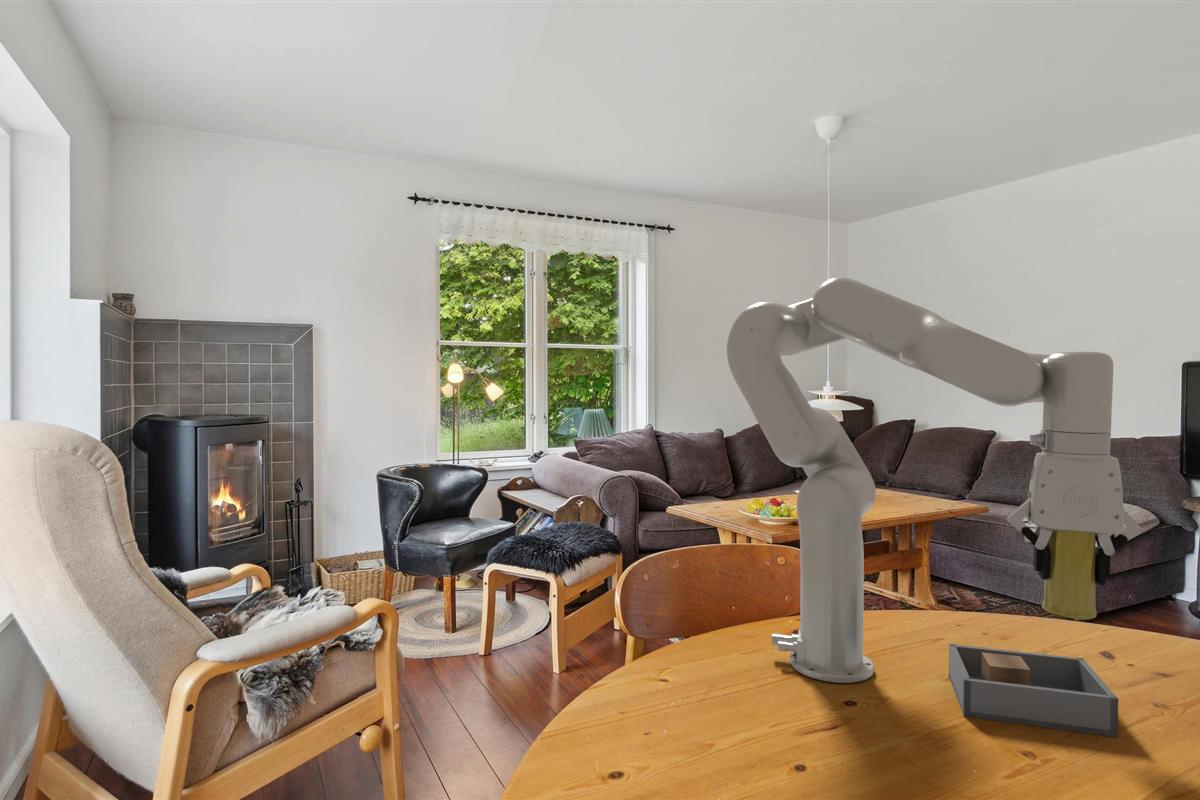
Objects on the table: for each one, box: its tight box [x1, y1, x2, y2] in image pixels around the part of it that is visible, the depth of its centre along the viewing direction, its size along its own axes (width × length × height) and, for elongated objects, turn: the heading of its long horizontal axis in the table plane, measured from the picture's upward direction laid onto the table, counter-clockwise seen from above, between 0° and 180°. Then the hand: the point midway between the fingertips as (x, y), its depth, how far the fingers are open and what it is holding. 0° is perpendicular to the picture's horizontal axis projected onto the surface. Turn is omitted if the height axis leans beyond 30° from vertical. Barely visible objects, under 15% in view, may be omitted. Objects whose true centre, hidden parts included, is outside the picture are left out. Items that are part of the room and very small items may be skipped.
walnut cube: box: [981, 652, 1030, 686], centre depth 99 cm, size 5×5×5 cm
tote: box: [948, 643, 1119, 738], centre depth 98 cm, size 18×14×5 cm
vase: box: [1041, 531, 1097, 620], centre depth 93 cm, size 6×6×14 cm
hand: (1070, 578), depth 94 cm, fingers closed on vase, 5 cm apart
